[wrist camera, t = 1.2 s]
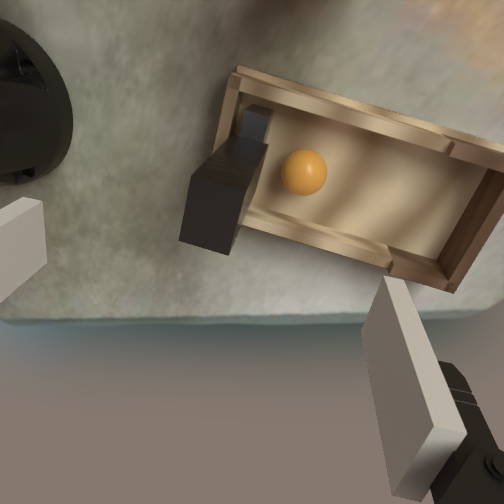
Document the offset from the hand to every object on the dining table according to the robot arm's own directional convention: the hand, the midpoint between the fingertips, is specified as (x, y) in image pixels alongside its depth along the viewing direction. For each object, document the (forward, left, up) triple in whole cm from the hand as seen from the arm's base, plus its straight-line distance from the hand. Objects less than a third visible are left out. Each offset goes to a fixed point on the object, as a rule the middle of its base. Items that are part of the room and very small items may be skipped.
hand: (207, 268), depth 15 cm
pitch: (+8, -1, -24) cm, 26 cm away
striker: (-1, -1, -23) cm, 23 cm away
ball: (+4, -1, -21) cm, 22 cm away
